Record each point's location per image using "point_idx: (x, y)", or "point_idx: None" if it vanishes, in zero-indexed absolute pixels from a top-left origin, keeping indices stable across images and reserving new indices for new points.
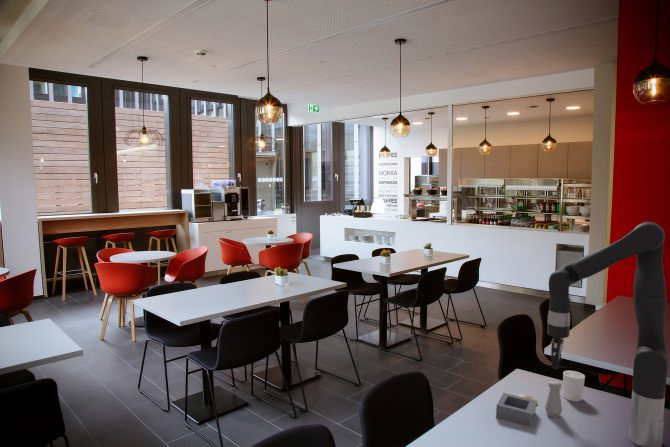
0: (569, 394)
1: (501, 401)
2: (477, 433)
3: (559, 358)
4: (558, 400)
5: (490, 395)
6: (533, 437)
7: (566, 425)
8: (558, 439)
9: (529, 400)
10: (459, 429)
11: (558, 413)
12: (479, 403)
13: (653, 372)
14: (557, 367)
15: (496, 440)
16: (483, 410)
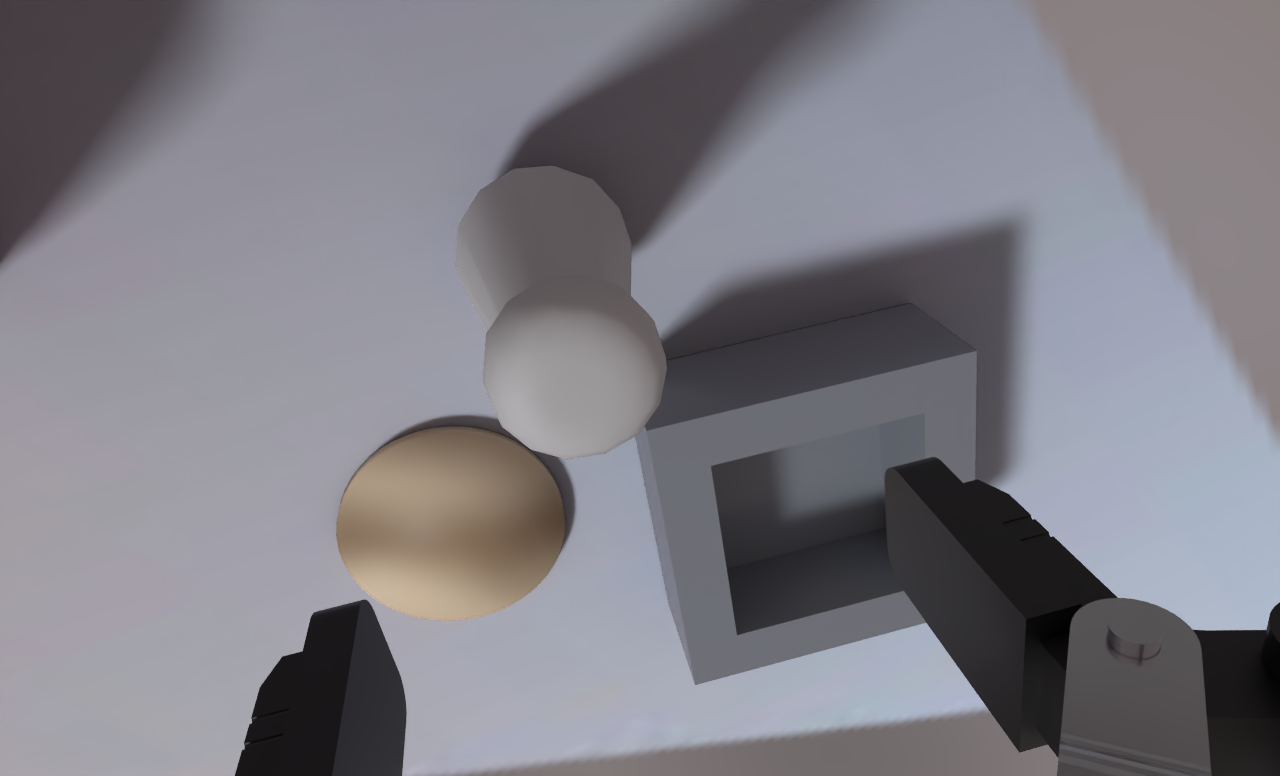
0: None
1: (884, 616)
2: (1196, 514)
3: (1106, 619)
4: (590, 233)
5: (571, 731)
6: (1070, 215)
7: (670, 53)
8: (997, 30)
9: (695, 473)
10: (1195, 604)
11: (593, 180)
12: (765, 708)
13: None
14: (949, 483)
15: (1234, 392)
16: (856, 642)
